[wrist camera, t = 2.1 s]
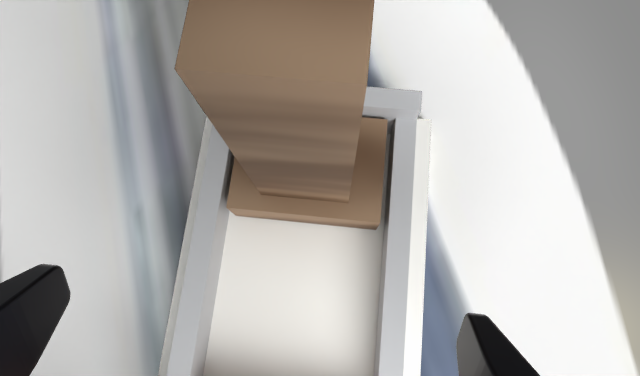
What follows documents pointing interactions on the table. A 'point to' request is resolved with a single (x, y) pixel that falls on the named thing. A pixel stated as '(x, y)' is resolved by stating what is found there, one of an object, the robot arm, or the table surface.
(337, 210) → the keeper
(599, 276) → the table surface
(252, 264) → the tray
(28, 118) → the table surface
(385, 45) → the table surface
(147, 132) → the table surface
